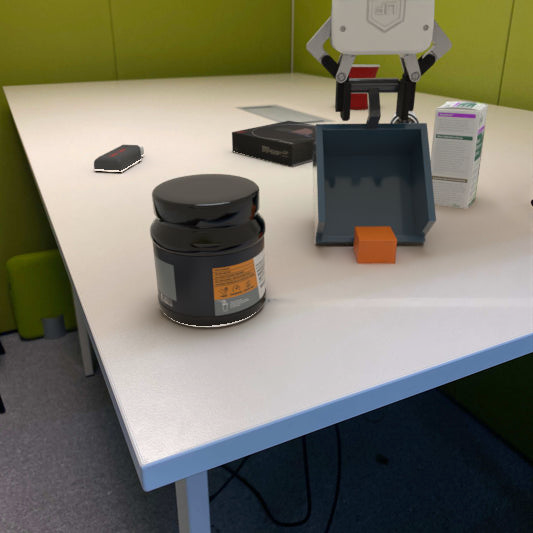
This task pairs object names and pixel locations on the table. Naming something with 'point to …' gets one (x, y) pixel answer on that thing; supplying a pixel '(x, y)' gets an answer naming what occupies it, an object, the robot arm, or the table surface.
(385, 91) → the blue open box
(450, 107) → the syrup box
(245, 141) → the black flat cardboard box
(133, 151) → the usb drive
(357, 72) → the plastic cup
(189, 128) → the table surface
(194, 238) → the supplement container
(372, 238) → the block
